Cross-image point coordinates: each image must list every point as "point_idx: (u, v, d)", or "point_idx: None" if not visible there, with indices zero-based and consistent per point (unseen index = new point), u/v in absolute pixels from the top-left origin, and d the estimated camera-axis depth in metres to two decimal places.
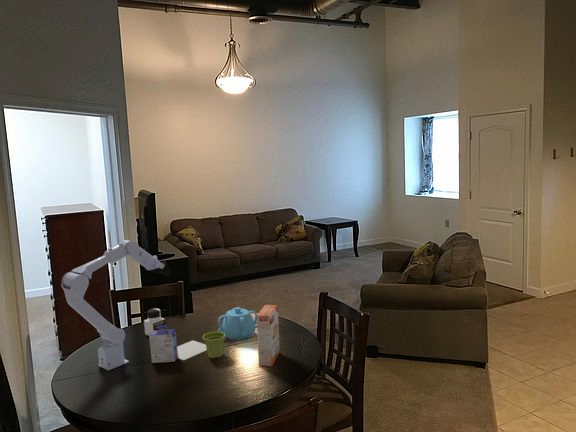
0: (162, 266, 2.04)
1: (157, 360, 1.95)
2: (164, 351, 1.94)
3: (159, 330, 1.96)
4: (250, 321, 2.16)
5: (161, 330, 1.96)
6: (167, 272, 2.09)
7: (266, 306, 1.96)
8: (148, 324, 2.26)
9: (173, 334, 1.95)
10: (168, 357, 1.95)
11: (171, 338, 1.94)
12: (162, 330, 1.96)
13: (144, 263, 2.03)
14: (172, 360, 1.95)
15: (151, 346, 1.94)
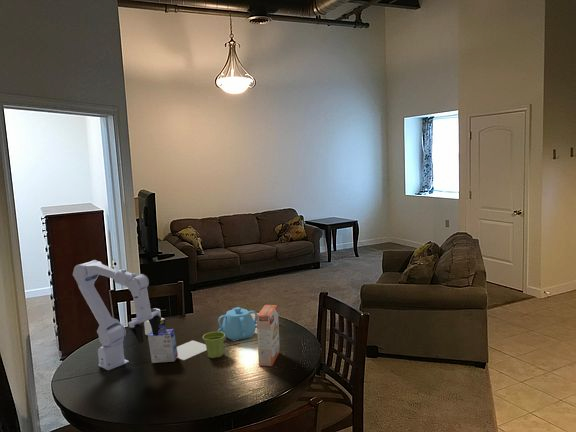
0: (130, 325, 1.82)
1: (157, 360, 1.95)
2: (163, 351, 1.94)
3: (158, 330, 1.95)
4: (250, 321, 2.16)
5: (159, 330, 1.96)
6: (138, 337, 1.85)
7: (266, 306, 1.96)
8: (148, 324, 2.26)
9: (172, 334, 1.94)
10: (167, 357, 1.95)
11: (169, 339, 1.93)
12: (161, 330, 1.95)
13: (135, 308, 1.87)
14: (172, 360, 1.95)
15: (150, 347, 1.94)
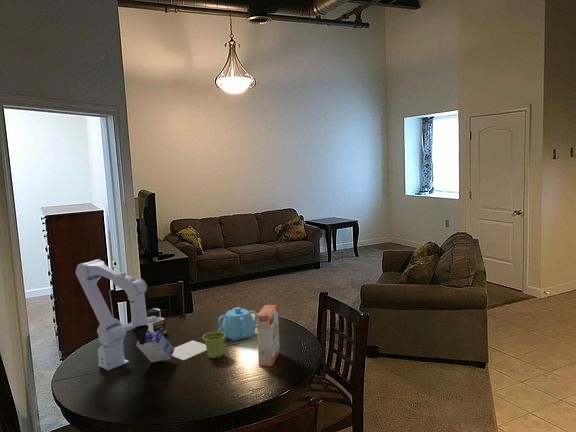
0: (123, 329, 1.82)
1: (155, 360, 1.95)
2: (156, 353, 1.92)
3: None
4: (250, 321, 2.16)
5: (146, 335, 1.90)
6: (139, 339, 1.87)
7: (266, 306, 1.96)
8: (148, 324, 2.26)
9: (158, 339, 1.88)
10: (163, 357, 1.93)
11: (156, 344, 1.88)
12: (147, 336, 1.90)
13: None
14: (168, 358, 1.93)
15: (143, 351, 1.92)
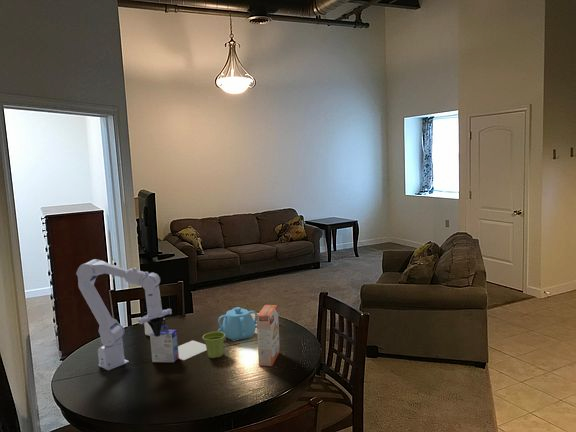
0: (139, 322, 1.87)
1: (157, 359, 1.95)
2: (163, 351, 1.94)
3: None
4: (250, 321, 2.16)
5: (162, 329, 1.97)
6: (154, 331, 1.93)
7: (266, 306, 1.96)
8: (148, 324, 2.26)
9: (173, 335, 1.94)
10: (167, 357, 1.94)
11: (170, 339, 1.93)
12: (163, 330, 1.96)
13: None
14: (171, 361, 1.94)
15: (151, 345, 1.95)
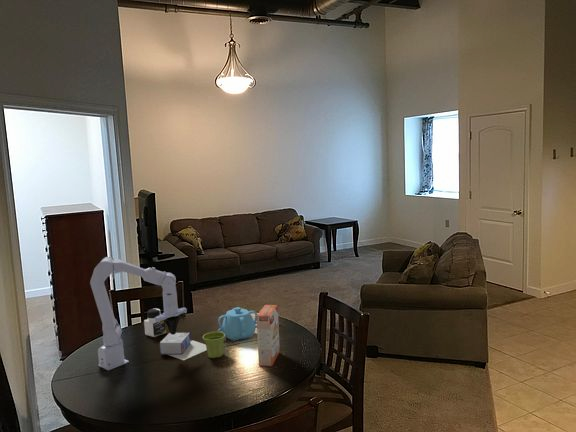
0: (156, 320, 1.94)
1: (165, 341, 2.03)
2: (175, 338, 2.06)
3: None
4: (250, 321, 2.16)
5: None
6: (170, 329, 1.99)
7: (266, 306, 1.96)
8: (148, 324, 2.26)
9: (189, 336, 2.12)
10: (177, 341, 2.03)
11: (187, 334, 2.11)
12: None
13: None
14: (179, 342, 2.02)
15: (166, 336, 2.09)
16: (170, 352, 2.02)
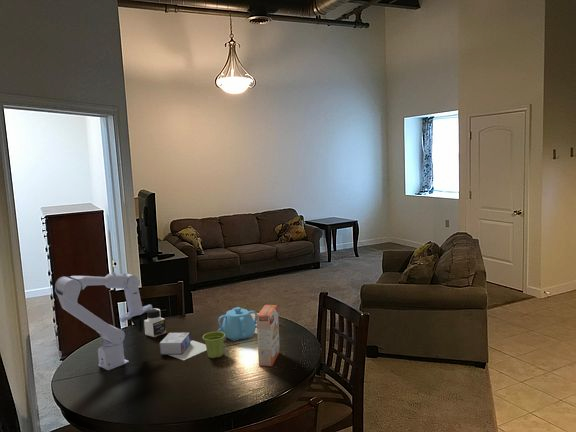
0: (121, 320, 1.97)
1: (165, 342, 2.03)
2: (175, 338, 2.06)
3: None
4: (250, 321, 2.16)
5: None
6: (137, 327, 2.03)
7: (266, 306, 1.96)
8: (148, 324, 2.26)
9: (189, 336, 2.12)
10: (176, 341, 2.03)
11: (186, 334, 2.11)
12: None
13: None
14: (179, 342, 2.02)
15: (166, 336, 2.09)
16: (170, 352, 2.02)
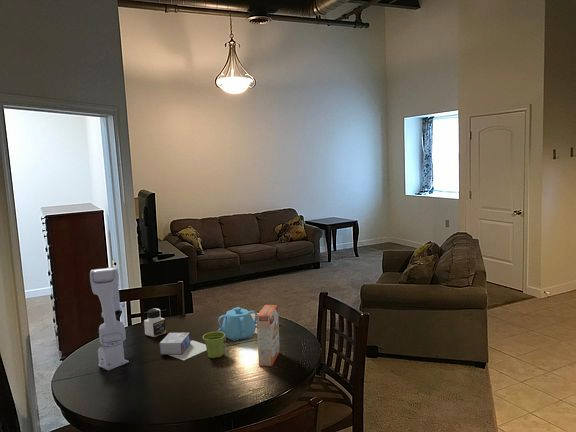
0: (103, 315, 2.01)
1: (165, 342, 2.03)
2: (175, 338, 2.06)
3: None
4: (250, 321, 2.16)
5: None
6: None
7: (266, 306, 1.96)
8: (148, 324, 2.26)
9: (189, 336, 2.12)
10: (176, 341, 2.03)
11: (186, 334, 2.11)
12: None
13: None
14: (179, 342, 2.02)
15: (166, 336, 2.09)
16: (170, 352, 2.02)
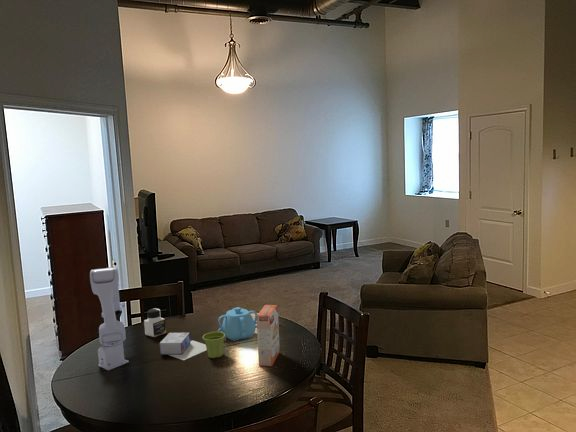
0: (103, 315, 2.01)
1: (165, 342, 2.03)
2: (175, 338, 2.06)
3: None
4: (250, 321, 2.16)
5: None
6: None
7: (266, 306, 1.96)
8: (148, 324, 2.26)
9: (189, 336, 2.12)
10: (176, 341, 2.03)
11: (186, 334, 2.11)
12: None
13: None
14: (179, 342, 2.02)
15: (166, 336, 2.09)
16: (170, 352, 2.02)
